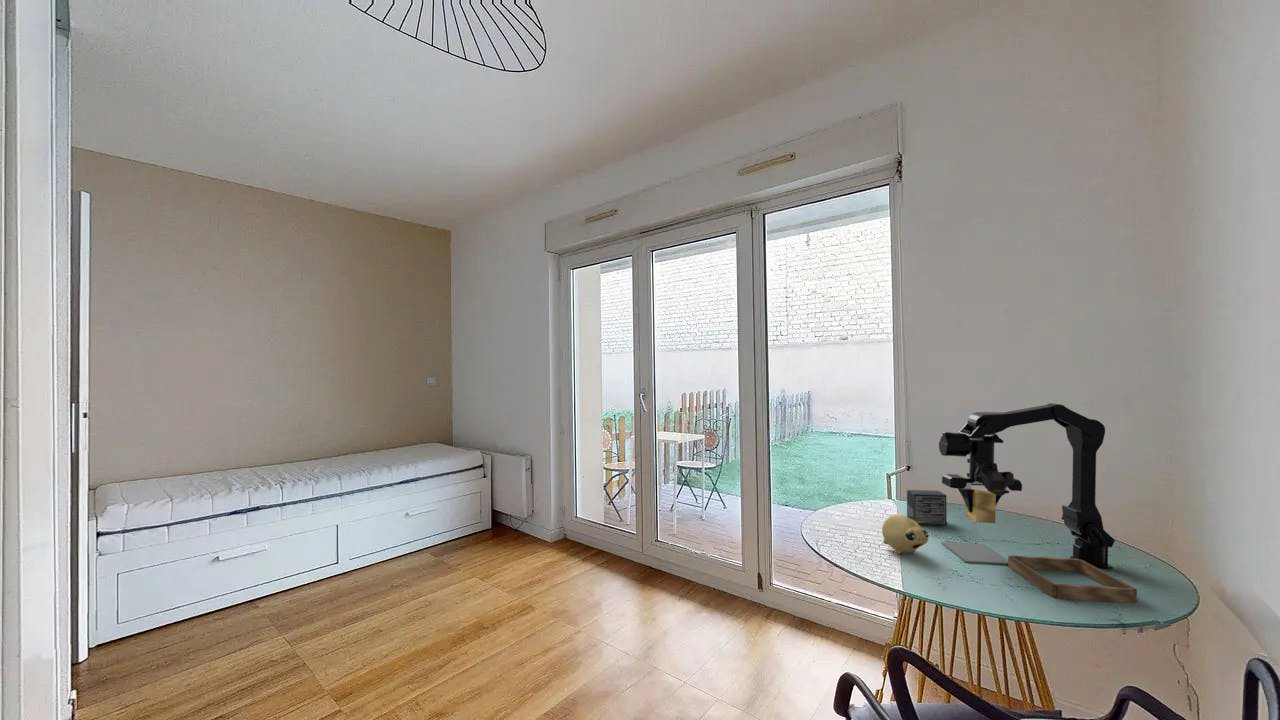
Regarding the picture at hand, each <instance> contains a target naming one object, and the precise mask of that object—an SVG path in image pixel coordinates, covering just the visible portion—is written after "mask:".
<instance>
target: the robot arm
mask: <svg viewBox="0 0 1280 720" xmlns="http://www.w3.org/2000/svg"><path fill="white" fill-rule="evenodd" d="M1051 420H1052V421H1054V422H1055V423H1056V424H1058V425H1059V426H1061V427H1063V428H1065V433H1066V438H1067V441H1068V442H1069V444H1070V447H1071V448H1072V480H1071V481H1072V484H1071V485H1072V488H1071V491H1072V492H1071V493H1072V496H1071V498H1072V499H1071V502H1070V503H1069V504H1068V505H1063V504H1062V506H1061V511H1062V516H1061V518H1060V519H1061V520H1062V521H1063V523H1064V525H1065V527H1066V528H1067V529H1068V530H1069V531H1070V533H1071V535H1072V536H1074V537H1075V538H1074V543H1073V544H1072V556H1071V555H1070V558H1073V559H1079V560H1084V561H1085V562H1087V563H1089V564H1091V565H1093V566H1095V567H1097V568H1098V569H1110V570H1111V569H1113V566H1112V565H1110V564H1109V548H1113V546H1114V544H1115V541H1116V540H1115V539H1114V538H1113V537H1112V536H1111V535H1110V534H1109V533H1108V532H1107V531H1106V530H1105V529H1104V523H1103V518H1102V515H1101V513H1100V511H1099V510H1098V508H1097V505H1096V496H1097V495H1096V491H1097V487H1096V486H1097V484H1096V482H1097V452H1098V450H1099V449H1100V447H1101V446H1102V445H1103V444H1104V439H1105V434H1106V426H1105V425H1104V424H1103V423H1102V422H1100V421H1099V420H1098V419H1091V418H1089V417H1087V416H1084V415H1082V414H1080V413H1078V412H1075V411H1073V410H1072V409H1070V408H1068V407H1066V406H1065V405H1063V404H1061V403H1060V404H1059V403H1053V402H1052V403H1047V404H1044V405H1038V406H1032V407H1027V408H1021V409H1015V410H1008V411H1002V412H995V411H994V412H993V411H992V412H991V411H988V412H987V411H982V412H981V411H978V412H972V413H971V414H970V415H969V417H968V419H967V422H966V423H965V425H964V426H962V428H961V429H960V430H959V431H958V432H949V431H943V432H942V436H941V437H940V440H939V441H938V450H939V452H940V455H941V456H942V457H961V458H963V457H964V458H965V457H967V455H969V458H966V463H969V472H967V473H966V477H963V476H961V475H959V474H957V473H956V474H953V473H944V474H943V476H941V484H943V485H945V486H947V487H949V488H951V489H957V490H958V491H959V493H960V495H961V497H962V499H963V501H964V503H965V506H966V510H967V509H968V511H969V512H971V513H972V509H973V498H972V495H973V493H974V491H975V490H973V489H974V488H972V486H982V487H984V488H985V490H987V491H989V492H992V493H994V494H996V506H997V504H998V503H999V501H1000V499H1001V498H1002V496H1004V495H1006V494H1010V492H1022V491H1023V484H1022V482H1021V480H1020V479H1017V478H1014V477H1015V476H1014V474H1013V473H1012V471H999V469H998V464H997V463H996V462H995V444H996V443H997V444H1003V443H1005V442H1004V441H1005V440H1003V439H1002V438H1000V437H999V435H998V434H997V433H1000V432H1003V431H1005V430H1007V429H1009V428H1010V427H1011V428H1012V427H1015V426H1022V425H1028V424H1035V423H1039V422H1047V421H1051ZM1007 489H1008V490H1007ZM1009 490H1010V491H1009Z"/></svg>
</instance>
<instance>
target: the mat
mask: <svg viewBox="0 0 1280 720" xmlns="http://www.w3.org/2000/svg"><path fill="white" fill-rule="evenodd" d="M940 543H941V545H942V546H944V547H945V548H946V549H948V551H950V552H951V553H953V554H954V555H955V556H956V557H958V558H959V559H960V560H961V561H962V562H963V563H966V564H980V563H984V565H1000V564H1001V566H1002V565H1003V566H1008V558H1005V557H1004V556H1003V555H1001V554H1000V553H998V552H997V551H995V550H993V549H992V548H990V547H989V546H988V545H986V544H985V543H970V542H968V543H967V542H966V543H965V542H947V541H946V542H943V541H941V542H940Z"/></svg>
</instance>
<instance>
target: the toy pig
mask: <svg viewBox="0 0 1280 720" xmlns="http://www.w3.org/2000/svg"><path fill="white" fill-rule="evenodd" d="M881 531H882V532H881V533H882V537H883V541H882V543H883V544H884V545H888V546H890V547H891V549H893V550H894V551H895V554H896V555H901V554H902V553H905V554H909V553H912V554H914V553H916V550H918V549H919V548H920V547H922V546H924V545H926V544H927V543H928V542H929V537H930V536H929V533H928V531H927V530H925V529H924V528H922V529H920V528H919V527H918V526H917V525H916V524H915V523H914V522H912V521H911V520H910V519H909V518H907V515H904V514H903V513H896V514H892V515H890V516H889V517H887V518H886V519H885V521H884V522H883V524H882V527H881Z"/></svg>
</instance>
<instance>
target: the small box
mask: <svg viewBox="0 0 1280 720" xmlns="http://www.w3.org/2000/svg"><path fill="white" fill-rule="evenodd" d="M947 497H948V496H947V494H945V493H943V492H942V491H940V490H926V489H925V490H924V489H922V490H921V489H907V490H906V517H907V518H910V519H912V520H914V521H916V522H917V523H918V524H919V526H934V527H935V526H936V527H941V526H942V527H946V526H948V524H947Z"/></svg>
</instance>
